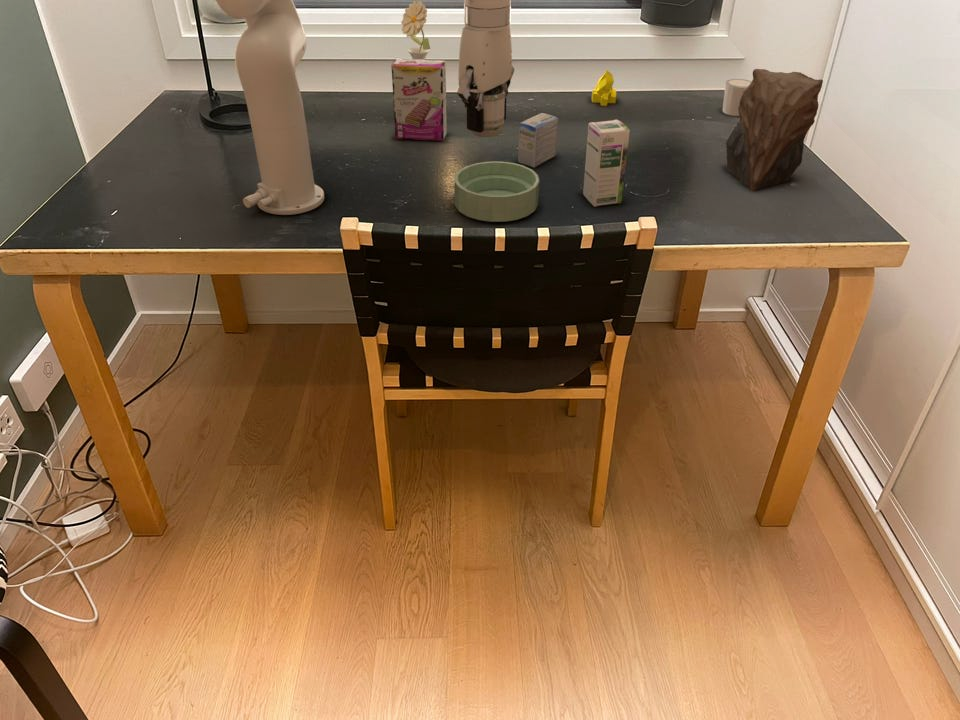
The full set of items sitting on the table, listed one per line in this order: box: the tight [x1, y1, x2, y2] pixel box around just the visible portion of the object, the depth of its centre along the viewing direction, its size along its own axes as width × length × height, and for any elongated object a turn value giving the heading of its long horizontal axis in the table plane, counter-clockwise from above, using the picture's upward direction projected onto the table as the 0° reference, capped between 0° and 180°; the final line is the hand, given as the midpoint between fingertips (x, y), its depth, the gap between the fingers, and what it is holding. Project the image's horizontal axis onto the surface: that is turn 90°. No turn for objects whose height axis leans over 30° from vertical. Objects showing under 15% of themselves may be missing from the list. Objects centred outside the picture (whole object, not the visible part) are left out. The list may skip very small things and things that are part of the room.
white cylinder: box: [722, 78, 752, 117], centre depth 180 cm, size 7×7×7 cm
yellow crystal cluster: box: [591, 69, 617, 107], centre depth 186 cm, size 6×8×8 cm
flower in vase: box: [400, 0, 431, 60], centre depth 175 cm, size 13×11×25 cm
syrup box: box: [582, 119, 631, 208], centre depth 139 cm, size 6×6×14 cm
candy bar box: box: [391, 58, 448, 142], centre depth 164 cm, size 11×5×16 cm, turn 84°
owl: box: [725, 68, 824, 192], centre depth 147 cm, size 13×13×20 cm
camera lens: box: [469, 86, 506, 138], centre depth 131 cm, size 6×6×8 cm
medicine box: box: [517, 112, 559, 168], centre depth 156 cm, size 8×4×9 cm, turn 141°
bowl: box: [453, 160, 540, 223], centre depth 140 cm, size 16×16×6 cm
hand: (486, 123), depth 133 cm, fingers closed on camera lens, 6 cm apart
